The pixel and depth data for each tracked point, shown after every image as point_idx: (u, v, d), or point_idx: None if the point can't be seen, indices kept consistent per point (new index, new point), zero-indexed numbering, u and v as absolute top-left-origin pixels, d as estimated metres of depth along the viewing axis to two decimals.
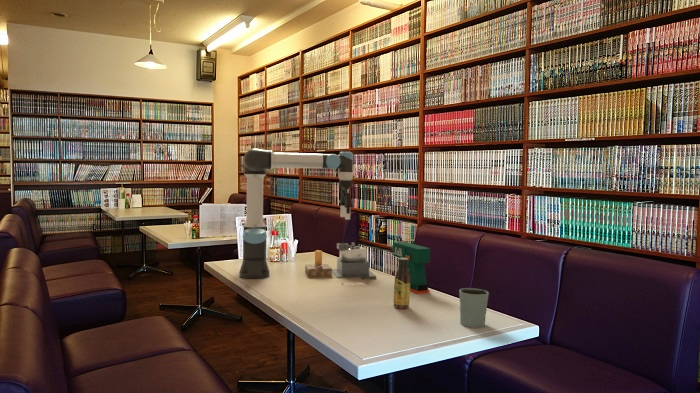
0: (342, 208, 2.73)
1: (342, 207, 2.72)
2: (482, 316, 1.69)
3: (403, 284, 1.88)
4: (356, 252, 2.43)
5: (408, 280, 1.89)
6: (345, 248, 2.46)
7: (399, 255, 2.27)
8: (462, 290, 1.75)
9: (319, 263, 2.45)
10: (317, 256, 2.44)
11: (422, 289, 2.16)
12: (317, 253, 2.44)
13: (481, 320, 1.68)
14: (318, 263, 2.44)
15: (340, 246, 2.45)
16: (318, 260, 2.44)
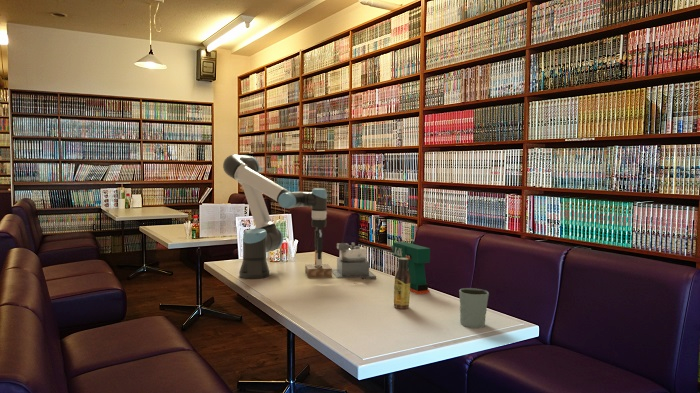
0: None
1: None
2: (482, 316, 1.69)
3: (403, 284, 1.88)
4: (356, 252, 2.43)
5: (408, 280, 1.89)
6: (345, 248, 2.46)
7: (399, 255, 2.27)
8: (462, 290, 1.75)
9: None
10: None
11: (422, 289, 2.16)
12: None
13: (481, 320, 1.68)
14: None
15: (340, 246, 2.45)
16: None
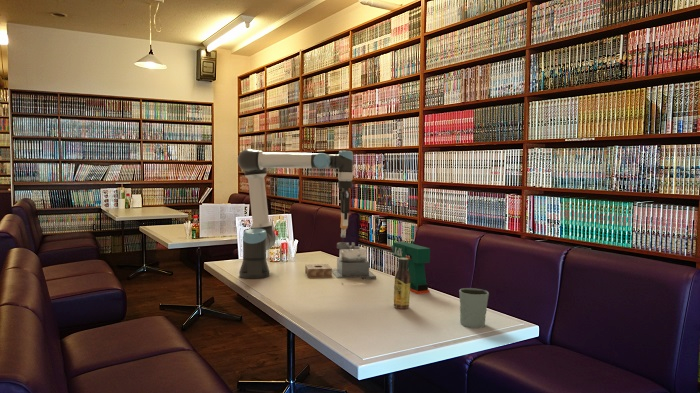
0: None
1: (343, 214, 2.53)
2: (482, 316, 1.69)
3: (403, 284, 1.88)
4: (350, 252, 2.43)
5: (408, 280, 1.89)
6: (343, 247, 2.48)
7: (399, 255, 2.27)
8: (462, 290, 1.75)
9: (345, 226, 2.50)
10: None
11: (422, 289, 2.16)
12: None
13: (481, 320, 1.68)
14: (344, 226, 2.50)
15: (338, 245, 2.49)
16: None
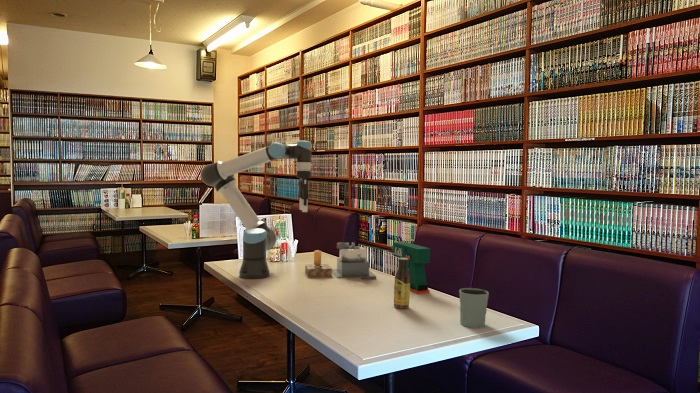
0: (301, 200, 2.59)
1: (301, 199, 2.59)
2: (482, 316, 1.69)
3: (403, 284, 1.88)
4: (350, 252, 2.43)
5: (408, 280, 1.89)
6: (343, 247, 2.48)
7: (399, 255, 2.27)
8: (462, 290, 1.75)
9: (318, 263, 2.44)
10: (316, 256, 2.44)
11: (422, 289, 2.16)
12: (316, 253, 2.44)
13: (481, 320, 1.68)
14: (317, 263, 2.44)
15: (338, 245, 2.49)
16: (317, 260, 2.44)
